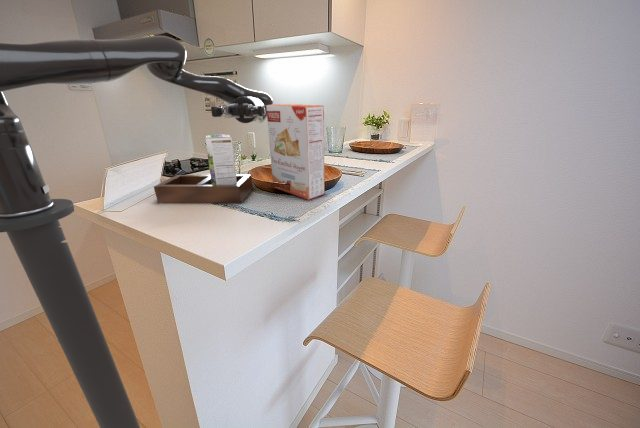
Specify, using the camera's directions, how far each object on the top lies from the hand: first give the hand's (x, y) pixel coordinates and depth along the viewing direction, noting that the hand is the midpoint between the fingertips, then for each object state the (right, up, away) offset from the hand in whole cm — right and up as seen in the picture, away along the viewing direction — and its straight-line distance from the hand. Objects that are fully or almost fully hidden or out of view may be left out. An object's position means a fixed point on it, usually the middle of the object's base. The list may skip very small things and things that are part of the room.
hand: (231, 112), depth 74 cm
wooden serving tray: (-5, -22, -3) cm, 22 cm away
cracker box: (+17, -21, -1) cm, 27 cm away
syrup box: (0, -22, -3) cm, 22 cm away
